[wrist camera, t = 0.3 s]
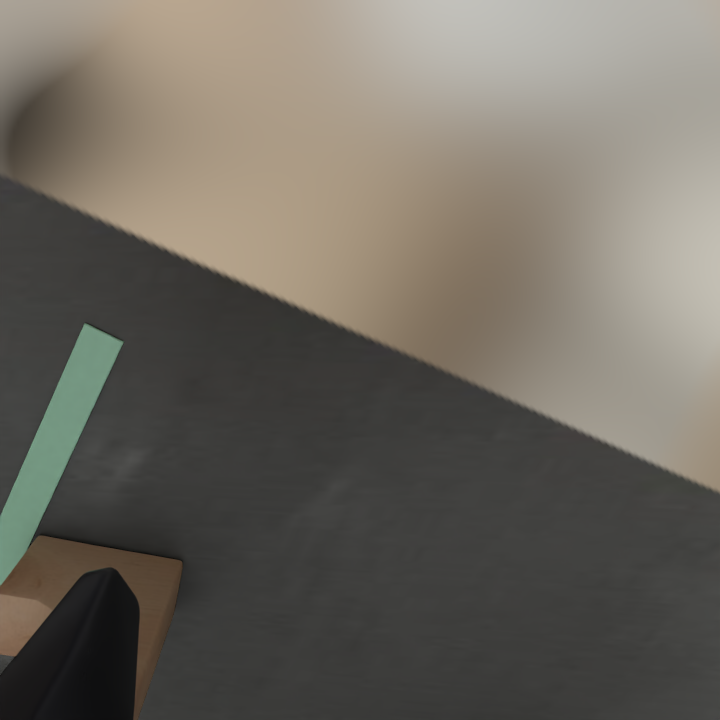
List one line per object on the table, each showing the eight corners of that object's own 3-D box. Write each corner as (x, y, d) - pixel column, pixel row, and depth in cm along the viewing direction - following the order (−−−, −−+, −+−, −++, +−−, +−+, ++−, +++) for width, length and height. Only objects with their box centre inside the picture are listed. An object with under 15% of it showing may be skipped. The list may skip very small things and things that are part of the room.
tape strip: (-44, 701, 30) (-45, 703, 30) (-76, 690, 29) (-77, 692, 29) (124, 341, 23) (123, 342, 23) (85, 323, 23) (84, 323, 23)
